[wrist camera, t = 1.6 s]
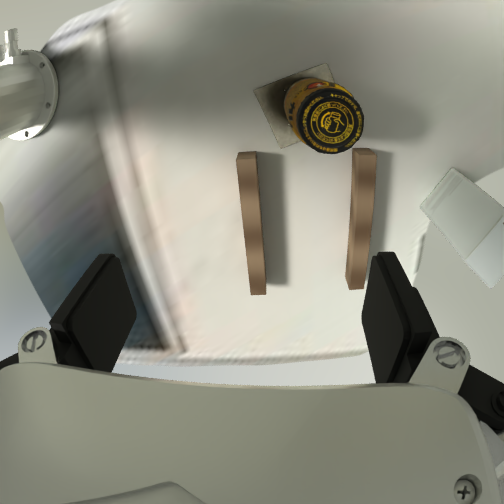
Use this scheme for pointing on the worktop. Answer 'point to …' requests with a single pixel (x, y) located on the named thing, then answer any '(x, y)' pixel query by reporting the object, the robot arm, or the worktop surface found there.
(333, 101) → the yellow and black cylinder
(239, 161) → the channel
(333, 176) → the worktop surface
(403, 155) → the worktop surface
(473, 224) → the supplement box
